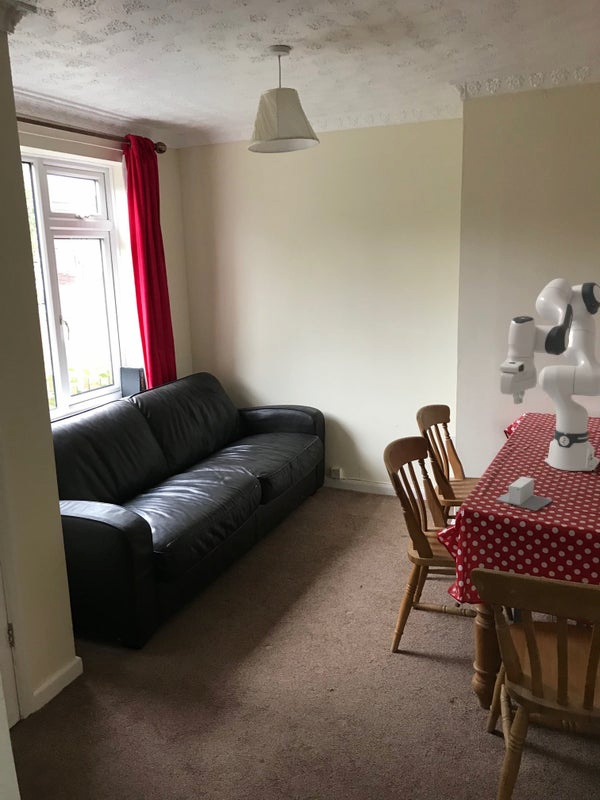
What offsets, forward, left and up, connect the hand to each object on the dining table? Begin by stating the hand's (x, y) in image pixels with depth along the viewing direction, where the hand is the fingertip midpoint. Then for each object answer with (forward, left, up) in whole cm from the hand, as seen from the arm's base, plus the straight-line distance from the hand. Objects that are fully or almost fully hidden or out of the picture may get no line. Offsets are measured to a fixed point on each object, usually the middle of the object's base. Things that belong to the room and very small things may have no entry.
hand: (518, 403), depth 232 cm
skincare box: (+9, +9, -26) cm, 29 cm away
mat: (+14, +11, -29) cm, 34 cm away
